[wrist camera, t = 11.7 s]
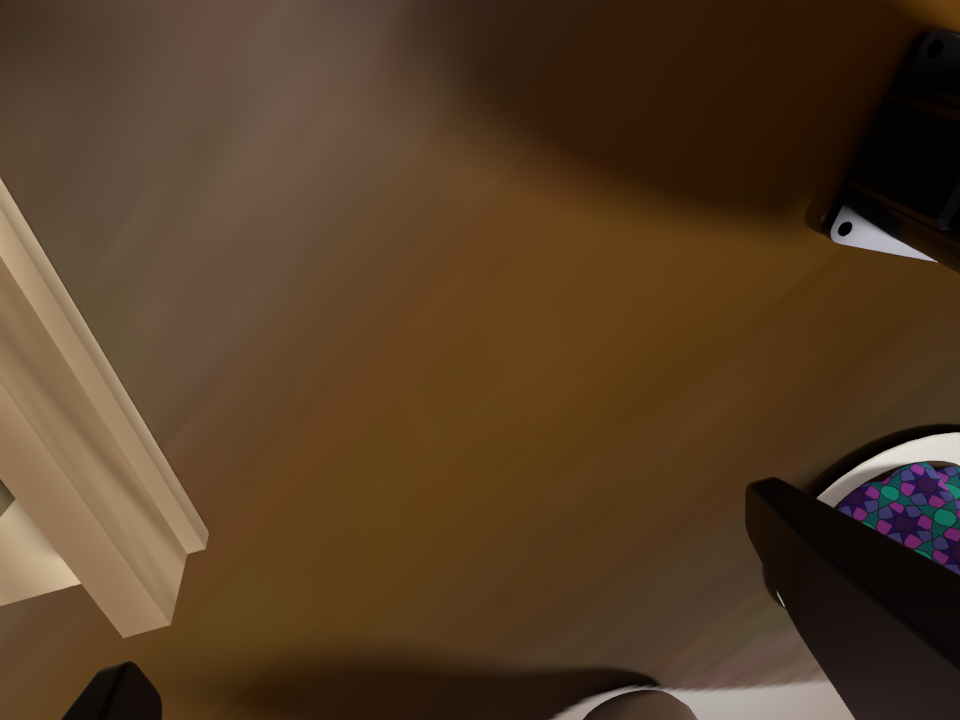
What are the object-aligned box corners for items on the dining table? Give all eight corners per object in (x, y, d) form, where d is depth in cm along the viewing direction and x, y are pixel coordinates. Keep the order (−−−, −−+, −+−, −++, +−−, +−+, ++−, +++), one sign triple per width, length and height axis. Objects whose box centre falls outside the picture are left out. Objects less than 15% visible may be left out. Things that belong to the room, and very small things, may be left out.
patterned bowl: (993, 569, 36) (1085, 658, 31) (771, 643, 36) (832, 743, 31) (1031, 385, 29) (1154, 465, 25) (760, 475, 29) (836, 571, 25)
